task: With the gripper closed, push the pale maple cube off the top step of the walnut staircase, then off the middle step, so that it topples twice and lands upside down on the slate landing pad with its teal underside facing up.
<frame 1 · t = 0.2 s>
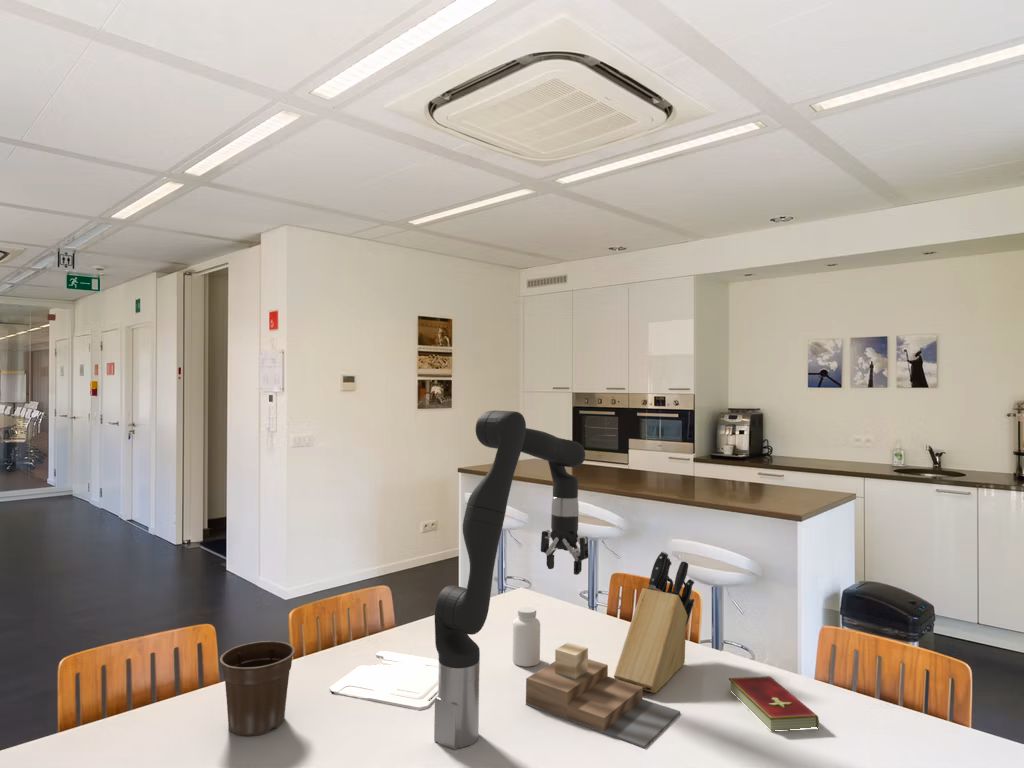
hand: (563, 571, 181), 28 cm above the table, tool pointing down, fingers open, 8 cm apart
walnut staircase: (602, 708, 160), on the table
tray: (401, 681, 176), on the table
hardcover book: (770, 712, 161), on the table
plant pot: (256, 723, 151), on the table
pill bottle: (526, 662, 188), on the table
maple cube: (571, 672, 166), point 6 cm above the table, touching walnut staircase
knife block: (657, 670, 183), on the table
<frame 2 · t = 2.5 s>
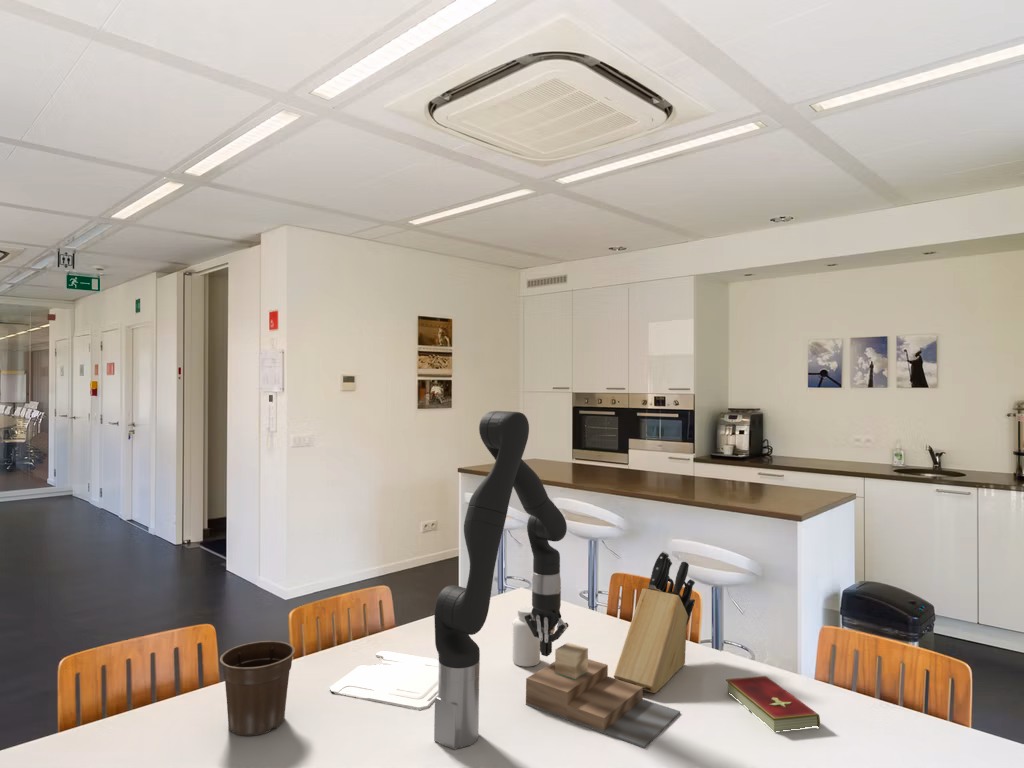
hand: (545, 654, 171), 9 cm above the table, tool pointing down, fingers closed
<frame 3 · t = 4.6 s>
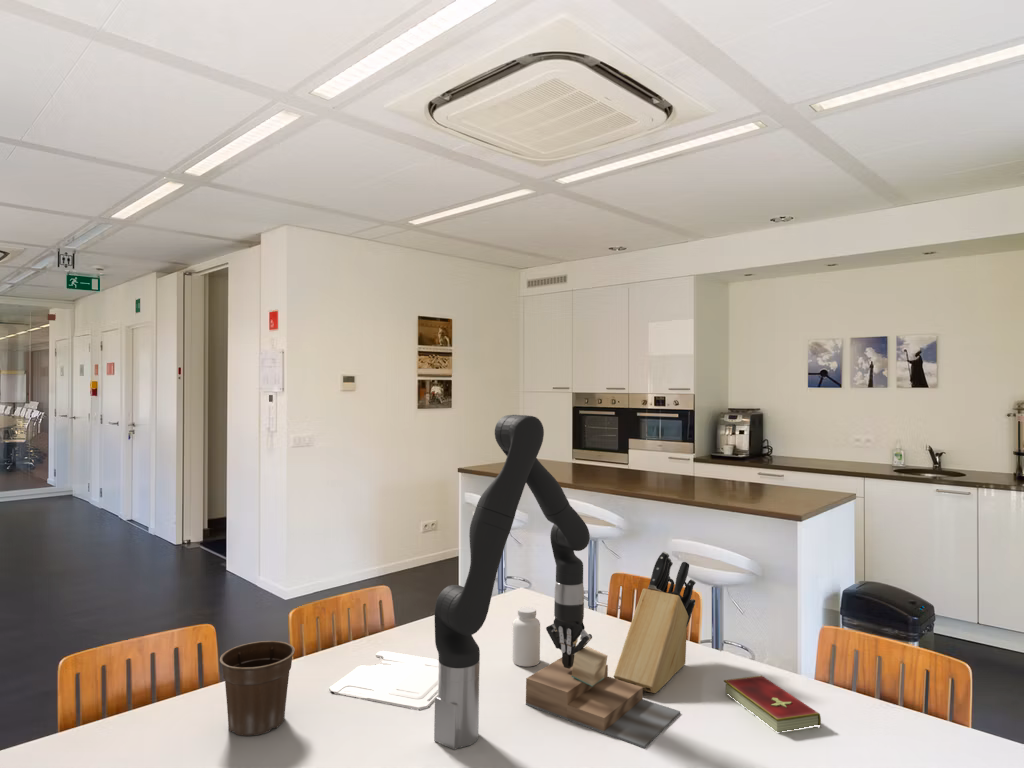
hand: (568, 667, 166), 8 cm above the table, tool pointing down, fingers closed
maple cube: (587, 677, 163), point 7 cm above the table, tilted 9°, touching walnut staircase
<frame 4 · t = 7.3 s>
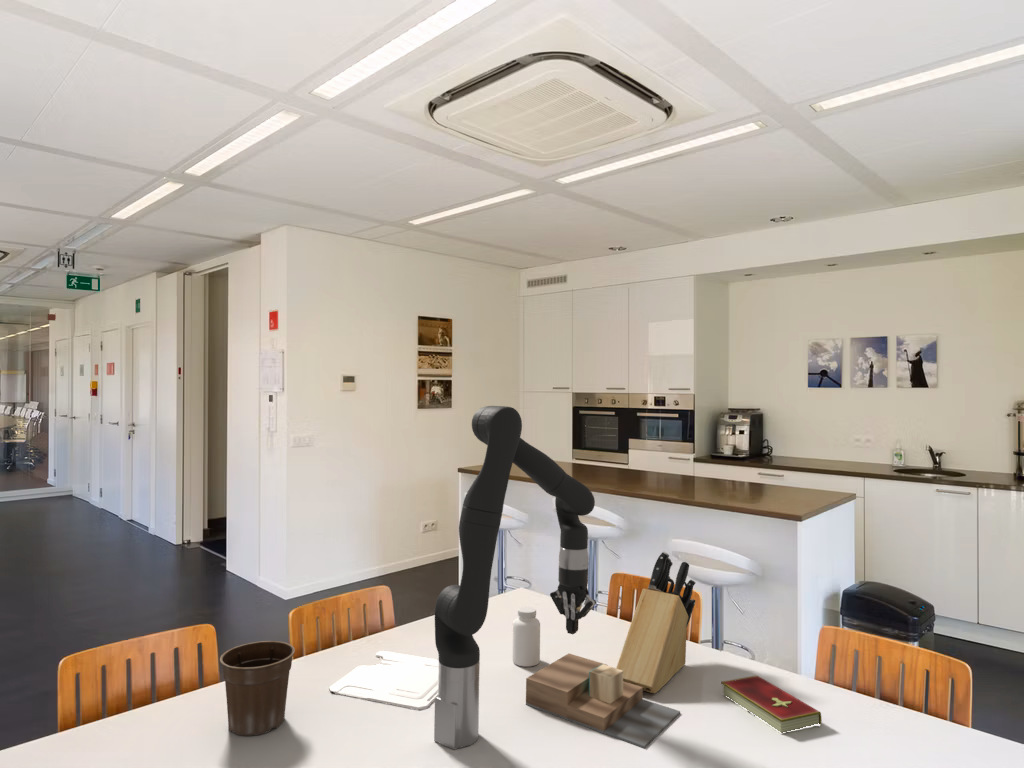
hand: (572, 632, 166), 17 cm above the table, tool pointing down, fingers closed
maple cube: (595, 679, 162), point 6 cm above the table, tilted 90°, touching walnut staircase
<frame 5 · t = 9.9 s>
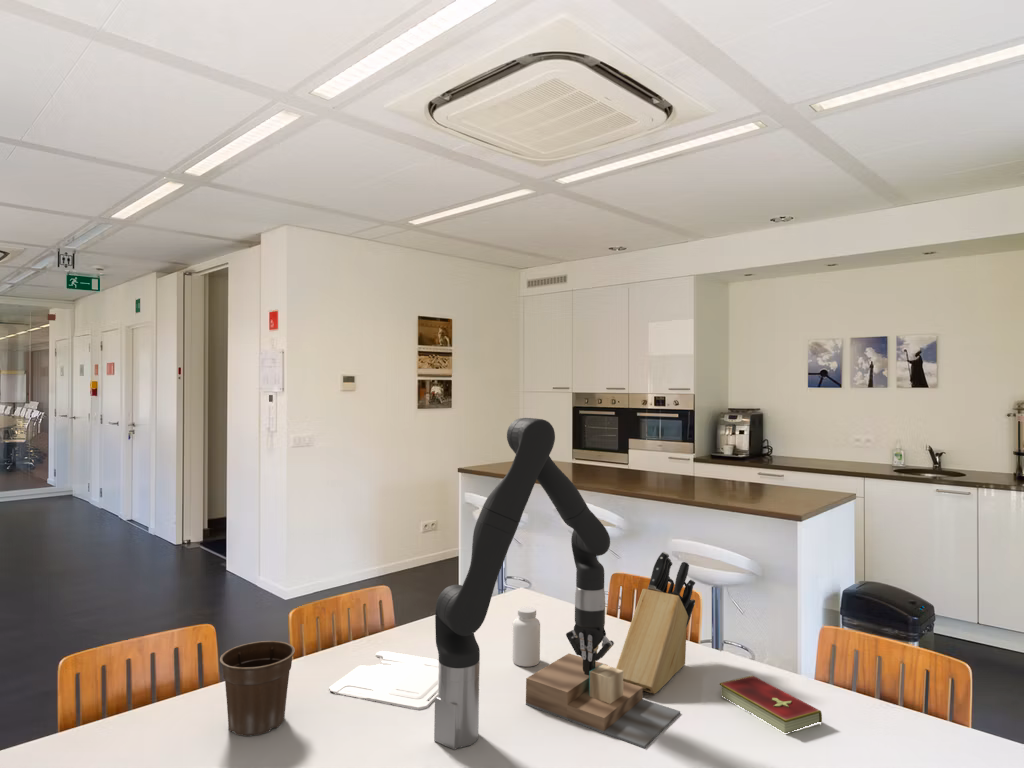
hand: (589, 674, 163), 7 cm above the table, tool pointing down, fingers closed
maple cube: (595, 679, 162), point 7 cm above the table, tilted 90°, touching gripper, walnut staircase
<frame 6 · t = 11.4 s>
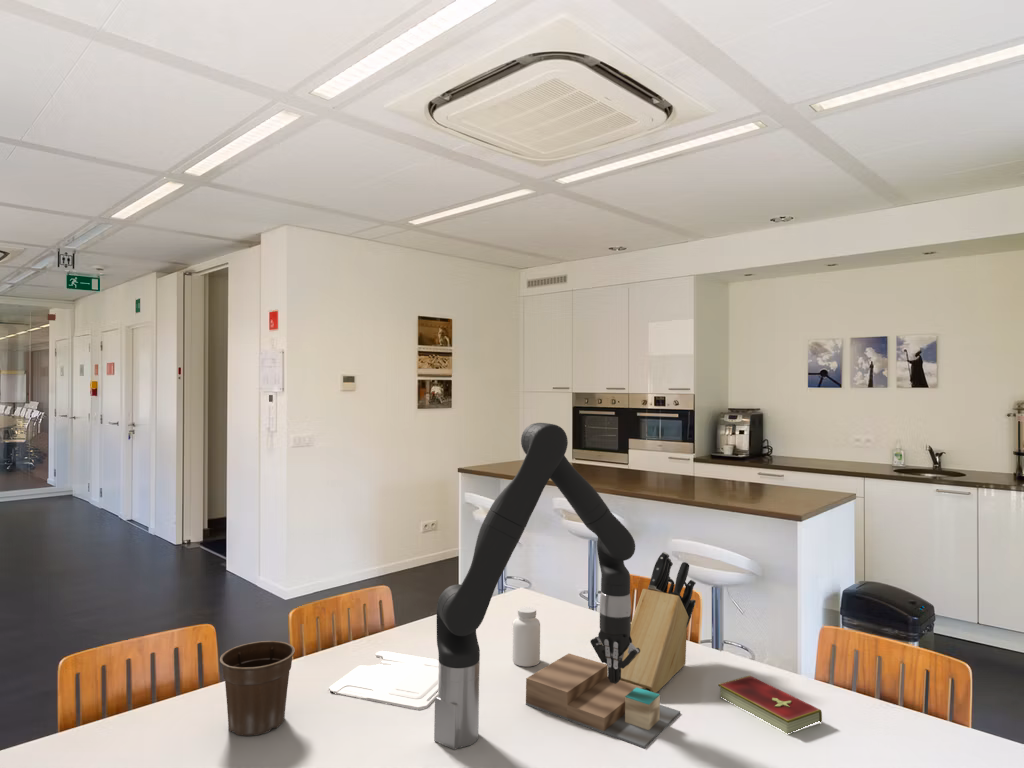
hand: (614, 682, 158), 7 cm above the table, tool pointing down, fingers closed
maple cube: (642, 695, 154), point 6 cm above the table, tilted 180°, touching walnut staircase
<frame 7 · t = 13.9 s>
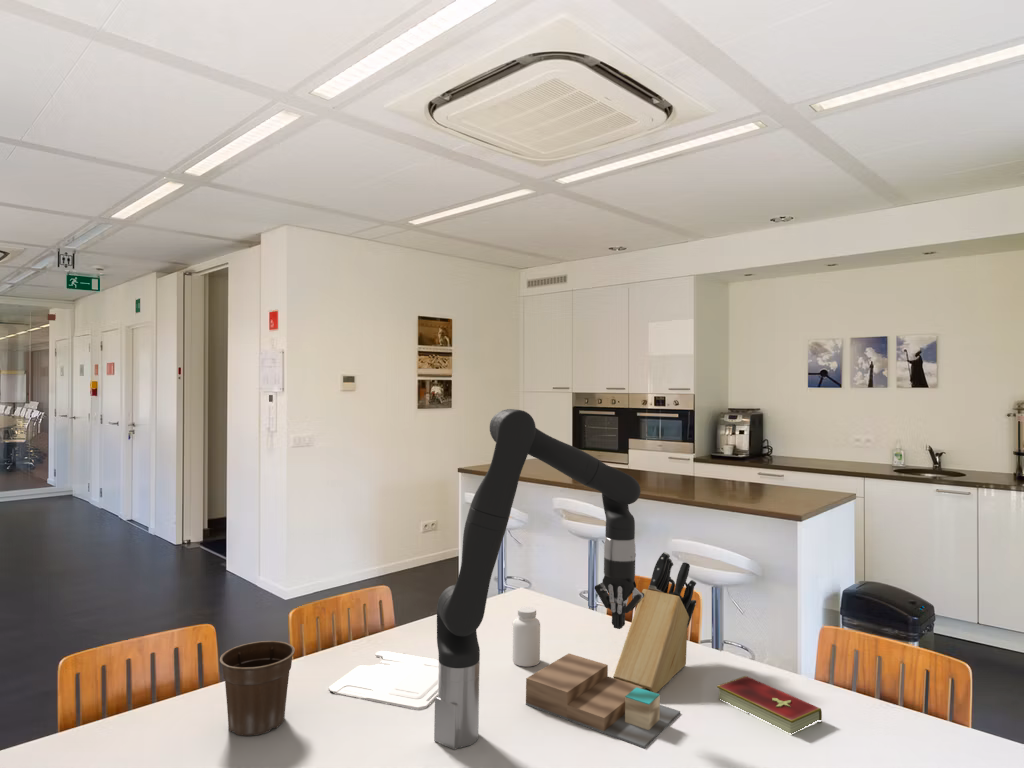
hand: (618, 627, 158), 21 cm above the table, tool pointing down, fingers closed
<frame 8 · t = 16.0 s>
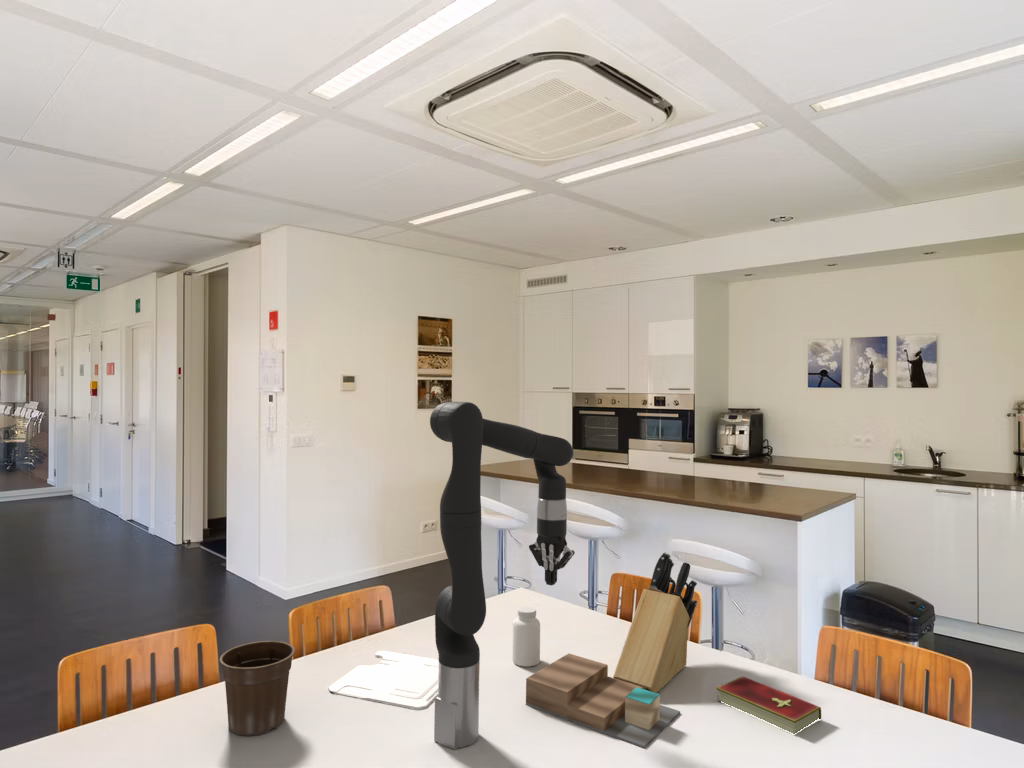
hand: (550, 584, 165), 29 cm above the table, tool pointing down, fingers closed
at the end: maple cube tilted 180°; maple cube inside the target area (1.3 cm from its centre), point 6.5 cm above the table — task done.
